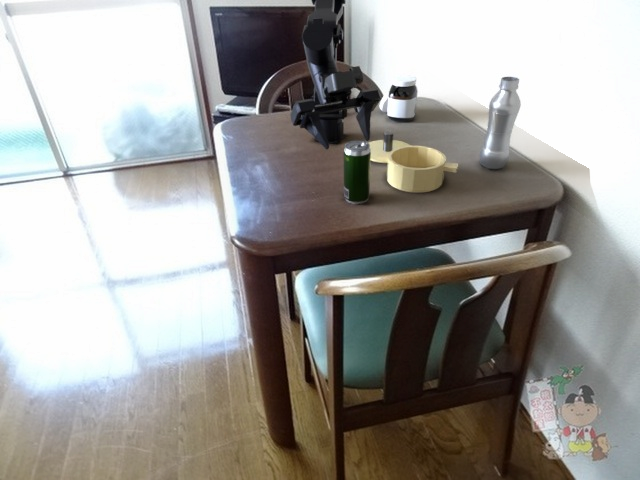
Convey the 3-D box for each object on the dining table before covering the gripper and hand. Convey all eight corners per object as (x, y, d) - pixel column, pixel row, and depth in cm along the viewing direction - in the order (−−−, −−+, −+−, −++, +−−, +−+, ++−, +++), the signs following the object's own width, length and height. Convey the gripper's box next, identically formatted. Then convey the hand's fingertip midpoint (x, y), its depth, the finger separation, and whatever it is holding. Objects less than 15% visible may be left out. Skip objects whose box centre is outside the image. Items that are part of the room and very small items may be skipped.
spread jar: (409, 125, 125) (412, 84, 119) (372, 120, 130) (373, 80, 123) (419, 112, 134) (423, 73, 127) (384, 108, 138) (386, 70, 132)
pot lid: (405, 169, 103) (407, 146, 99) (353, 160, 108) (353, 139, 104) (420, 147, 112) (422, 126, 109) (371, 140, 117) (372, 120, 114)
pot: (448, 199, 91) (452, 175, 87) (368, 184, 97) (368, 162, 94) (459, 174, 100) (463, 151, 96) (385, 162, 106) (386, 141, 103)
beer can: (354, 207, 89) (354, 153, 82) (339, 197, 93) (338, 144, 86) (374, 199, 91) (376, 146, 85) (358, 190, 95) (359, 138, 88)
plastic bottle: (506, 161, 104) (526, 75, 92) (506, 174, 99) (527, 84, 87) (478, 158, 106) (494, 73, 94) (476, 170, 101) (493, 82, 89)
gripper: (290, 58, 81) (315, 135, 78) (379, 46, 86) (404, 118, 84) (281, 90, 91) (302, 159, 89) (360, 78, 97) (382, 142, 95)
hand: (348, 144), depth 89 cm, fingers open, 9 cm apart
